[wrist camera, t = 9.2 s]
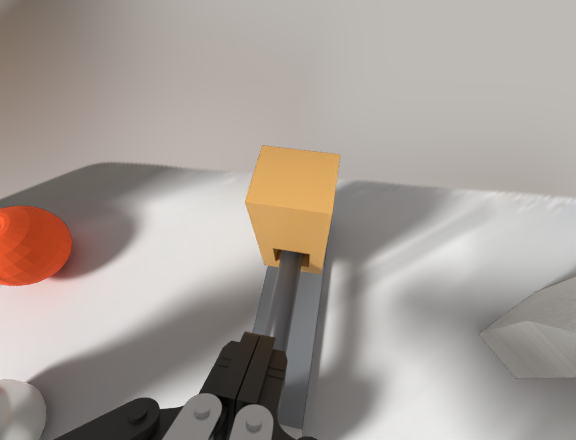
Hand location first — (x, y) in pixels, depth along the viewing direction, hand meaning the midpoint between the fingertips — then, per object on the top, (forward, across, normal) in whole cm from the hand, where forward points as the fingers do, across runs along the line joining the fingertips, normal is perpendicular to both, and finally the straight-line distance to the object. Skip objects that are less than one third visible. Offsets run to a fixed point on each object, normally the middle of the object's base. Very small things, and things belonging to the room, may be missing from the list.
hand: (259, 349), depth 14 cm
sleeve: (+12, 0, -1) cm, 12 cm away
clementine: (+11, +23, +5) cm, 26 cm away
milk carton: (+12, -20, +4) cm, 23 cm away
